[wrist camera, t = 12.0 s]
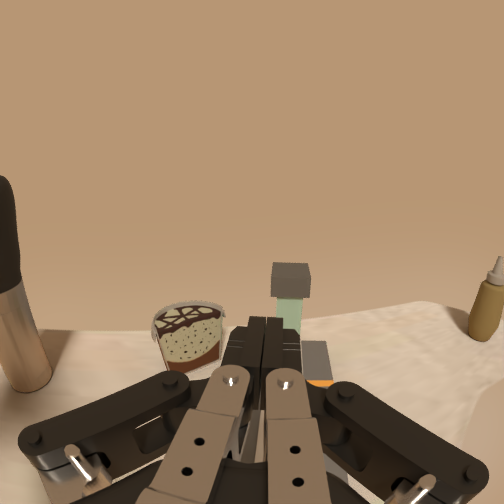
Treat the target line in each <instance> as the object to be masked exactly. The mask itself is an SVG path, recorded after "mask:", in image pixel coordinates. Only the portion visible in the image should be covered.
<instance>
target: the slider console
mask: <svg viewBox="0 0 504 504" xmlns="http://www.w3.org/2000/svg"><path fill="white" fill-rule="evenodd" d="M300 345H301V360H302V373H303V376H304V378H305V379H306V380H307V381H308V382H309V383H311V384H312V385H315V386H318V387H321V388H326V389H328V387H329V386H330V385H332V384H334V382H333V377H332V372H331V366H330V361H329V356H328V350H327V345H326V341H301V336H300ZM260 398H261V392H260ZM263 425H264V410H260V400H259V409H258V410H253V411H252V417H251V420H250V426H249V430H248V434H247V438H246V442H245V446H244V450H243V453H242V457H241V462H242V463H247V464H249V463H258V462H263ZM323 457H324V463H325V469H326V471H327V472H330V473H332V474H334V475H336V476H337V477H339V478H340V479H342V480H343V481H344V482H346V483H347V484H348V477H347V472H346V471H344V470H343V469H342V468H341V467H340V466H338V465H337V464H336V463H335V462H334V461H333V460H331V459H330V458H329V457H328V456H327V455H326V454H324V453H323Z"/></svg>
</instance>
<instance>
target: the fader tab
mask: <svg viewBox="0 0 504 504" xmlns="http://www.w3.org/2000/svg"><path fill="white" fill-rule="evenodd" d="M310 285H311V276H310V271H309V267H308V264H307V263H276V262H273V266H272V276H271V297H277V308H276V317H280V318H283V329H295V330H296V331H297V333H298V334H299V335H300V327H301V315H302V303H303V298H309V297H310Z"/></svg>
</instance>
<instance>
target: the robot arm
mask: <svg viewBox="0 0 504 504" xmlns="http://www.w3.org/2000/svg"><path fill="white" fill-rule="evenodd" d="M16 223H17V222H16V210H15V200H14V195H13V191H12V188H11V185H10V183H9V181H8V180H7V179H6V178H5V177H4V176H1V175H0V364H1V366H2V368H3V370H4V372H5V374H6V376H7V378H8V380H9V382H10V384H11V386H12V387H13V388H14V389H15V390H17V391H19V392H32V391H36V390H38V389H40V388H41V387H43V386H44V385H45V384H47V382H48V381H49V380H50V378H51V376H52V369H51V366H50V364H49V362H48V359H47V356H46V354H45V351H44V348H43V346H42V343H41V340H40V337H39V335H38V332H37V329H36V326H35V323H34V320H33V317H32V313H31V310H30V307H29V303H28V299H27V296H26V292H25V288H24V285H23V280H22V276H21V272H20V250H19V242H18V234H17V224H16ZM260 392H261V398H260ZM259 400H260V410H264V425H263V462H258V463H249V464H247V463H242V462H241V457H242V453H243V450H244V446H245V442H246V438H247V434H248V430H249V426H250V420H251V417H252V411H253V410H258V409H259ZM158 416H161V417H159V418H157V419H155V420H153V421H151V422H149V423H147V424H145V425H143V426H141V427H139V428H137V427H138V426H140V425H142V424H144V423H146V422H148V421H150V420H152V419H154V418H156V417H158ZM135 428H137V429H135ZM18 446H19V448H20V450H21V451H22V452H23V453H24V455H25V456H26V457H27V458H28V459H29V460H30V462H31V464H32V465H33V466H34V467H35V468H36V470H37V471H38V472H39V475H40V477H41V480H42V482H43V485H44V487H45V489H46V492H47V494H48V496H49V498H50V501H51V503H52V504H370V503H369V502H368V501H366V500H365V499H364V498H363V497H362V496H361V495H359V494H358V493H357V492H356V491H355V490H354V489H352V488H351V487H350V486H349V485H348V484H347V483H346V482H344V481H343V480H342V479H340V478H339V477H337V476H336V475H334V474H332V473H330V472H327V471H326V469H325V463H324V457H323V453H324V454H326V455H327V456H328V457H329V458H330V459H331V460H333V461H334V462H335V463H336V464H337V465H338V466H340V467H341V468H342V469H343V470H344V471H346V472H347V473H348V474H349V475H351V476H352V477H353V478H354V479H356V480H357V481H358V482H359V483H361V484H362V485H363V486H364V487H366V488H367V489H368V490H370V491H371V492H372V493H374V494H375V495H376V496H378V497H379V498H380V499H382V500H383V501H384V502H385V503H384V504H466V503H468V502H469V501H470V500H471V499H472V498H473V497H475V496H476V495H477V494H478V493H479V492H480V491H481V490H482V489H484V488H485V486H486V485H487V483H488V480H489V471H488V469H487V467H486V465H485V464H484V463H483V462H481V461H480V460H478V459H476V458H474V457H473V456H471V455H469V454H467V453H465V452H464V451H462V450H460V449H459V448H457V447H455V446H453V445H452V444H450V443H448V442H447V441H445V440H443V439H442V438H440V437H438V436H437V435H435V434H433V433H432V432H430V431H428V430H427V429H425V428H424V427H422V426H420V425H419V424H417V423H416V422H414V421H412V420H411V419H409V418H408V417H406V416H404V415H403V414H401V413H400V412H398V411H397V410H395V409H393V408H392V407H390V406H389V405H387V404H386V403H384V402H383V401H381V400H380V399H378V398H377V397H375V396H374V395H372V394H371V393H369V392H368V391H366V390H365V389H363V388H362V387H360V386H359V385H357V384H355V383H352V382H347V381H342V382H336V383H334V384H332V385H330V386H329V387H328V389H326V388H321V387H318V386H315V385H312V384H311V383H309V382H308V381H307V380H306V379H305V378H304V376H303V373H302V360H301V345H300V335H299V334H298V333H297V331H296V330H295V329H283V318H280V317H267V324H266V317H257V316H250V317H249V322H248V326H247V327H242V326H237V327H236V328H235V329H234V330H233V331H232V332H231V333H230V336H229V341H228V343H227V347H226V350H225V353H224V356H223V360H222V363H221V366H220V367H219V368H217V369H216V370H214V371H213V373H212V375H211V377H209V378H207V379H202V380H193V381H189V378H188V377H187V376H186V375H185V374H184V373H182V372H179V371H174V370H169V371H164V372H161V373H159V374H156V375H154V376H152V377H150V378H148V379H145V380H143V381H141V382H139V383H137V384H134V385H132V386H130V387H127V388H125V389H123V390H121V391H118V392H116V393H114V394H111V395H109V396H106V397H104V398H102V399H99V400H97V401H94V402H92V403H89V404H87V405H84V406H82V407H79V408H77V409H74V410H72V411H69V412H66V413H64V414H61V415H58V416H56V417H53V418H50V419H47V420H45V421H42V422H39V423H36V424H33V425H30V426H28V427H26V428H25V429H23V430H22V431H21V433H20V434H19V437H18ZM165 453H166V455H165V457H164V459H162V460H159V461H156V462H154V463H152V464H150V465H148V466H146V467H144V468H142V469H141V470H139V471H137V472H135V473H133V474H131V475H129V476H127V477H126V478H124V479H122V480H120V481H118V482H116V483H114V484H112V480H113V479H116V478H118V477H120V476H122V475H124V474H126V473H129V472H131V471H133V470H135V469H137V468H139V467H141V466H143V465H145V464H147V463H149V462H151V461H152V460H154V459H156V458H158V457H160V456H162V455H164V454H165Z"/></svg>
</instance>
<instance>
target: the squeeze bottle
mask: <svg viewBox="0 0 504 504" xmlns="http://www.w3.org/2000/svg"><path fill="white" fill-rule="evenodd" d="M502 272H503V257H501V256H499V257H498V259H497V261H496V264H495V266H494V269H493V271H488V274H487V279H486V280H485V281H483V282H482V283H481V285H480V288H479V291H478V294H477V297H476V299H475V302H474V305H473V307H472V310H471V312H470V315H469V326H468V333H469V335H470V336H471V337H472V338H473V339H475V340H478V341H488V340H489V339H490V337H491V336H492V335H493V333H494V332H495V331H496V329H497V328H498V326H499V322H500V318H501V314H502V310H503V305H504V274H503V273H502Z"/></svg>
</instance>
